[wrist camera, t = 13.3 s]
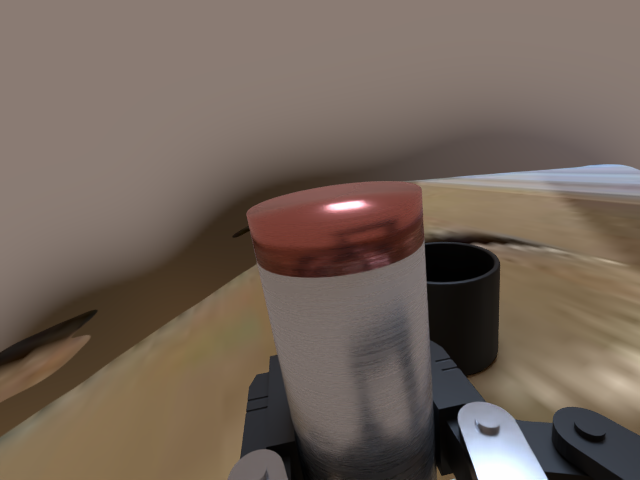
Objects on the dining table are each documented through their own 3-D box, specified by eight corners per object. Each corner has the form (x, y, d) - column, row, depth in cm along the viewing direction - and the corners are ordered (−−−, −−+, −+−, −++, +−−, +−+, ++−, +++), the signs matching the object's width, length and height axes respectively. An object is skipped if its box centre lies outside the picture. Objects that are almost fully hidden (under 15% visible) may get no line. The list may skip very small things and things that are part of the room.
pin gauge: (418, 546, 13) (387, 176, 9) (468, 689, 10) (458, 196, 5) (331, 568, 13) (253, 198, 8) (350, 723, 9) (235, 235, 5)
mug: (494, 309, 36) (496, 232, 33) (500, 388, 26) (503, 287, 23) (408, 302, 40) (403, 233, 37) (384, 367, 30) (374, 280, 27)
